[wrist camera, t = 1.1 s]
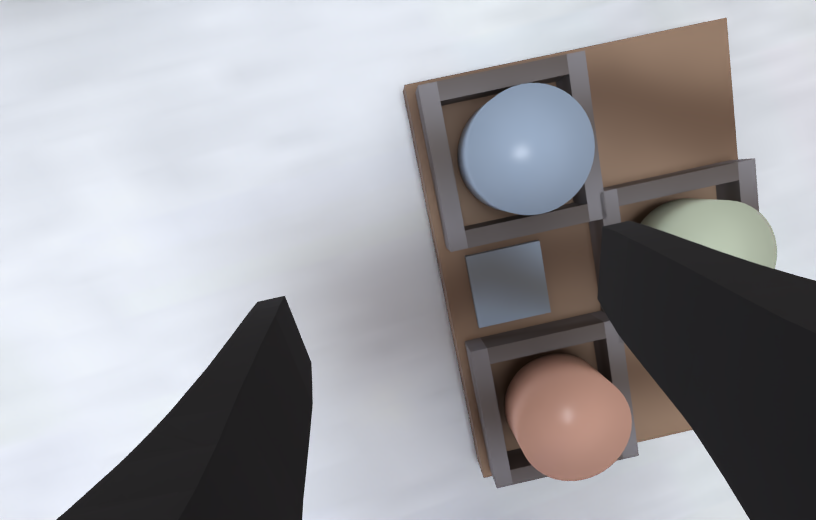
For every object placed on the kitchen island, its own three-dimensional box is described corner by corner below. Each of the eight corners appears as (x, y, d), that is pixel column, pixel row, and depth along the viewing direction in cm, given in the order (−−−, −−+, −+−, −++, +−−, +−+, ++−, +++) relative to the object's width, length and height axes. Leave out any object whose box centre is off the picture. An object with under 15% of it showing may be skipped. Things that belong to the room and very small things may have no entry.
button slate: (577, 198, 21) (602, 200, 18) (468, 222, 20) (480, 227, 18) (560, 84, 20) (585, 70, 17) (447, 107, 20) (456, 97, 17)
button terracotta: (611, 437, 23) (638, 466, 20) (513, 459, 23) (529, 492, 20) (597, 343, 22) (624, 362, 19) (495, 366, 22) (510, 388, 19)
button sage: (737, 291, 22) (780, 305, 19) (636, 314, 22) (667, 330, 19) (728, 188, 21) (772, 188, 19) (622, 210, 21) (653, 214, 18)
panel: (736, 401, 26) (782, 429, 23) (477, 460, 25) (490, 497, 22) (703, 28, 22) (753, 5, 19) (403, 91, 22) (406, 77, 19)
